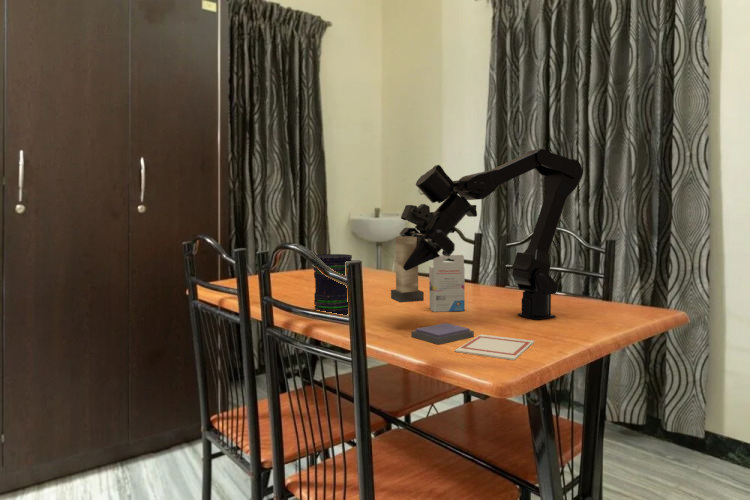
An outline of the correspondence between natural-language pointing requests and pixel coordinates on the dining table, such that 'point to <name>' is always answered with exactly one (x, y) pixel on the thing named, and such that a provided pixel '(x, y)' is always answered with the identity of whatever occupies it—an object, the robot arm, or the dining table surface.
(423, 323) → the dining table surface
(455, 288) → the ink box
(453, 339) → the ink pad
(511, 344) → the paper
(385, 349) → the dining table surface
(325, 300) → the storage jar
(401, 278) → the stamp
